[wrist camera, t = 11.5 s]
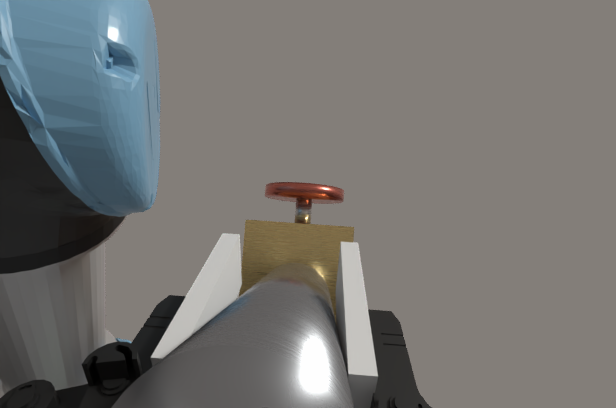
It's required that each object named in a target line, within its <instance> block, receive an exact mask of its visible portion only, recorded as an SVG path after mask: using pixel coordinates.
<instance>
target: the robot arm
mask: <svg viewBox="0 0 616 408" xmlns="http://www.w3.org/2000/svg"><path fill="white" fill-rule="evenodd" d="M159 118H160V81H159V63H158V51H157V38H156V30H155V25H154V19H153V15H152V11H151V8H150V5H149V2H148V0H0V408H112V406H113V405H114V404H115V402H116V401H117V400H118V399H119V397H120V396H121V395H122V394H123V392H124V391H125V390H126V389H127V388H128V387H129V386H130V385H131V384H132V383H134V382H135V381H136V380H137V379H138V378H139V377H140V376H142V375H143V374H144V373H145V372H147V371H148V370H149V369H150V368H151V367H153V366H154V365H155V364H156V363H158V362H159V361H160V360H161V359H163V358H164V357H165V356H166V355H168V354H169V353H170V352H171V351H173V350H174V349H175V348H176V347H178V346H179V345H180V344H181V343H183V342H184V341H185V340H186V339H188V338H189V337H190V336H191V335H193V334H194V333H195V332H196V331H197V330H199V329H200V328H201V327H202V326H204V325H205V324H206V323H207V322H209V321H210V320H211V319H212V318H214V317H215V316H216V315H217V314H219V313H220V312H221V311H222V310H224V309H225V308H226V307H227V306H229V305H230V304H231V303H232V302H234V301H235V300H236V299H237V296H238V294H239V291H240V288H241V285H242V276H241V253H240V235H239V234H225V233H223V234H222V236H221V237H220V239H219V240H218V242H217V244H216V246H215V247H214V249H213V251H212V253H211V254H210V256H209V258H208V259H207V261H206V263H205V265H204V266H203V268H202V270H201V271H200V274H199V275H198V277H197V278H196V280H195V282H194V284H193V285H192V287H191V289H190V291H189V292H188V294H187V296H173V295H169V296H168V297H167V298H165V299H164V300H163V301H161V302H160V303H159V304H158V305H157V306H156V307H155V309H154V310H153V312H152V314H151V315H150V318H148V319H147V321H146V323H145V324H144V326H143V328H141V330H140V331H139V333H138V334H137V336H136V337H135V339H134V340H133V342H131V341H129V340H121V339H120V338H114V337H113V335H112V334H111V333H110V332H109V331H108V330H106V328H105V325H106V315H105V242H106V241H107V240H108V239H109V238H110V237H111V236H112V235H113V234H114V233H115V232H116V231H117V230H118V229H119V228H120V226H121V225H122V224H123V222H124V221H125V219H126V217H127V215H129V214H131V213H137V212H144V211H145V210H148V209H150V208H151V206H152V205H153V204H154V201H155V198H156V194H157V186H158V176H159V175H158V174H159V160H160V159H159V158H160V123H159ZM336 325H337V330H338V335H339V339H340V344H341V349H342V353H343V358H344V362H345V367H346V372H347V376H348V381H349V385H350V390H351V395H352V399H353V404H354V408H431V407H430V406H429V405H428V404H427V403H426V402H425V400H424V398H423V397H422V396H421V395H420V393H419V391H418V389H417V386H416V382H415V379H414V375H413V371H412V367H411V363H410V359H409V355H408V352H407V348H406V344H405V340H404V337H403V332H402V329H401V325H400V322H399V321H398V319H397V318H396V317H395V316H394V314H393V313H392V312H391V311H380V310H368V306H367V299H366V293H365V286H364V279H363V273H362V266H361V259H360V253H359V246H358V243H353V242H341V243H340V253H339V262H338V272H337V282H336Z"/></svg>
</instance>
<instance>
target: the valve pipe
mask: <svg viewBox="0 0 616 408" xmlns="http://www.w3.org/2000/svg"><path fill="white" fill-rule="evenodd" d="M265 196H266V197H268V198H271V199H276V200H282V201H290V202H296V211H295V223H286V222H272V221H257V220H246V224H245V235H244V246H243V259H242V269H241V276H242V285H241V288H240V292H239V293H240V294H239V298H237V299H236V300H235V301H234V302H232V303H231V304H230V305H229V306H227V307H226V308H225V309H224V310H222V311H221V312H220V313H219V314H217V315H216V316H215V317H214V318H212V319H211V320H210V321H209V322H207V323H206V324H205V325H204V326H202V327H201V328H200V329H199V330H197V331H196V332H195V333H194V334H193V335H191V336H190V337H189V338H188V339H186V340H185V341H184V342H183V343H181V344H180V345H179V346H178V347H176V348H175V349H174V350H173V351H171V352H170V353H169V354H168V355H166V356H165V357H164V358H163V359H161V360H160V361H159V362H158V363H156V364H155V365H154V366H153V367H151V368H150V369H149V370H148V371H147V372H145V373H144V374H143V375H142V376H140V377H139V378H138V379H137V380H136V381H135V382H134V383H132V384H131V385H130V386H129V387H128V388H127V389H126V390H125V391H124V392H123V394H122V395H121V396H120V397H119V399H118V400H117V401H116V402H115V404H114V405H113V406H112V408H354V404H353V399H352V395H351V390H350V385H349V381H348V376H347V372H346V367H345V362H344V358H343V353H342V349H341V344H340V339H339V335H338V330H337V325H336V282H337V272H338V262H339V253H340V243H341V242H353V235H354V227H344V226H329V225H315V224H310V220H311V206H312V203H321V204H332V203H342V202H343V198H344V190H342V189H340V188H337V187H333V186H327V185H320V184H311V183H293V182H279V183H270V184H267V185H266V189H265Z"/></svg>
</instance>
